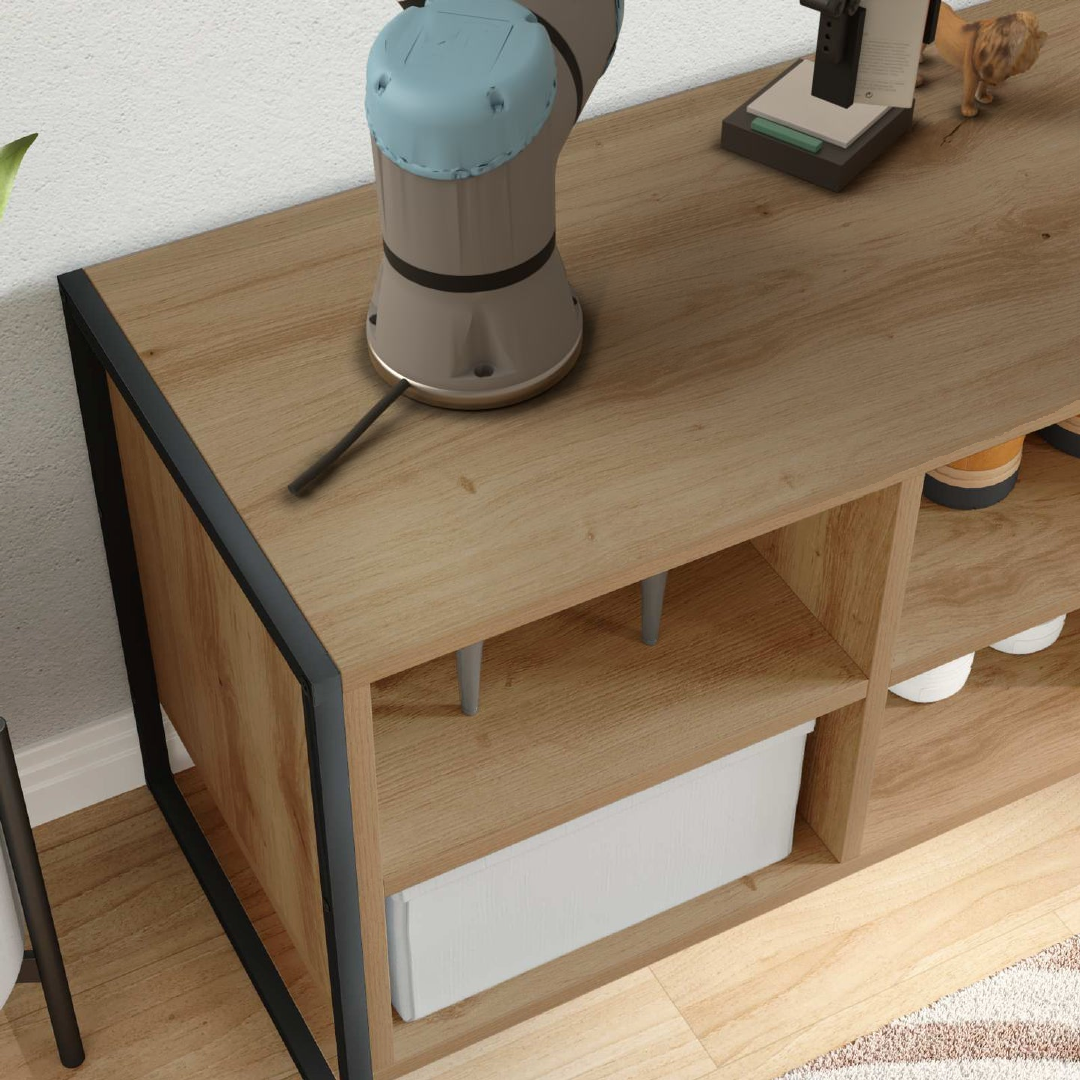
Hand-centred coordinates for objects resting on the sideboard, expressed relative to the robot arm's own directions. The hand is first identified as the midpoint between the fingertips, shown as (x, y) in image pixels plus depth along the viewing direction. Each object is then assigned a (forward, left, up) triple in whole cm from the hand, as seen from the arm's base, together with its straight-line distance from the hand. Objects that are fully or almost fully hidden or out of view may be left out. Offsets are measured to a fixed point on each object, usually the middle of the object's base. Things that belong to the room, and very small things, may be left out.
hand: (873, 67), depth 103 cm
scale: (+16, +12, -18) cm, 27 cm away
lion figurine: (+29, +6, -18) cm, 35 cm away
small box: (0, 0, -1) cm, 1 cm away
